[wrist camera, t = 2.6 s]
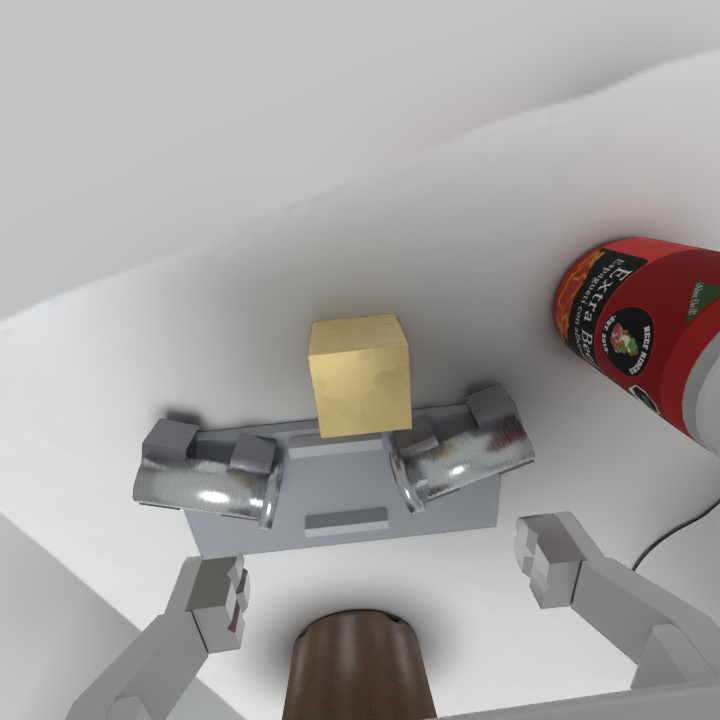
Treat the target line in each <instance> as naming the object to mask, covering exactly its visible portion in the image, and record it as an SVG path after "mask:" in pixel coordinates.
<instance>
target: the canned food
mask: <svg viewBox="0 0 720 720" xmlns="http://www.w3.org/2000/svg"><path fill="white" fill-rule="evenodd" d="M554 320H555V324H556V327H557V330H558V332H559V334H560V336H561V338H562V340H563V341H564V343H565V344H566V345H567V346H568V347H569V348H570V349H571V350H572V351H573V352H575V353H576V354H577V355H579V356H580V357H581V358H583V359H584V360H585V361H587V362H588V363H589V364H591V365H592V366H593V367H595V368H596V369H597V370H599V371H600V372H601V373H603V374H604V375H605V376H607V377H608V378H609V379H611V380H612V381H613V382H615V383H616V384H618V385H619V386H620V387H622V388H623V389H624V390H626V391H627V392H628V393H630V394H631V395H632V396H634V397H635V398H636V399H638V400H639V401H640V402H642V403H643V404H644V405H646V406H647V407H648V408H650V409H651V410H652V411H654V412H655V413H656V414H658V415H659V416H660V417H662V418H663V419H665V420H666V421H667V422H669V423H670V424H671V425H673V426H674V427H675V428H677V429H678V430H680V431H681V432H683V433H684V434H685V435H687V436H688V437H690V438H691V439H692V440H694V441H695V442H697V443H698V444H699V445H701V446H702V447H704V448H705V449H707V450H709V451H711V452H713V453H715V454H716V455H718V456H719V457H720V252H718V251H713V250H707V249H702V248H697V247H692V246H686V245H681V244H676V243H671V242H666V241H660V240H655V239H650V238H630V239H625V240H620V241H615V242H610V243H608V244H605V245H602V246H600V247H598V248H596V249H594V250H592V251H591V252H589V253H587V254H586V255H585V256H583V257H582V258H581V259H580V260H579V261H577V262H576V263H575V264H574V266H573V267H572V268H571V269H570V270H569V271H568V272H567V274H566V275H565V277H564V279H563V280H562V282H561V283H560V286H559V288H558V291H557V293H556V296H555V301H554Z"/></svg>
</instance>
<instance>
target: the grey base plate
mask: <svg viewBox="0 0 720 720" xmlns="http://www.w3.org/2000/svg"><path fill="white" fill-rule="evenodd" d="M426 413H427V415H428V417H429V420H430V422H431V424H432V426H433V428H434V430H435V433H436V435H437V437H438V439H439V441H440V440H443V439H445V438H448V437H450V436H453V435H455V434H458V433H460V432H463V431H465V430H467V429H470V428H472V427H475V425H474V422H473V420H472V417H471V415H470V412H469V410H468V407H467V405H466V404H462V405H452V406H443V407H433V408H424V409H415V410H411V418H412V419H414V418H416V417H418V416H421V415H423V414H426ZM240 433H244V434H250V435H255V436H261V437H267V438H272V439H277V442H276V446H275V451H274V455H273V460H272V462H277V463H283V464H285V465H284V472H283V477H282V483H281V488H280V493H279V498H278V502H277V507H276V512H275V516H274V520H273V524H272V528H271V530H266V529H259V528H258V524H259V521H253V520H246V519H239V518H232V517H225V516H222V514H217V513H211V512H204V511H197V510H190V509H183V510H184V512H185V515H186V518H187V520H188V523H189V525H190V528H191V531H192V533H193V536H194V539H195V541H196V544H197V547H198V549H199V552H200V554H201V556H204V555H214V554H224V553H235V552H242V554H243V555H248V554H257V553H266V552H275V551H284V550H293V549H302V548H311V547H320V546H328V545H337V544H346V543H355V542H364V541H373V540H382V539H391V538H400V537H409V536H418V535H427V534H436V533H445V532H454V531H463V530H472V529H481V528H490V527H496V522H497V511H498V500H499V489H500V478H501V474H500V475H498V473H495V474H493V475H490V476H488V477H485V478H482V479H480V480H477V481H475V482H472V483H469V484H467V485H464V486H462V487H460V490H459V491H456V492H454V493H451V494H448V495H446V496H443V497H441V498H438V499H435V500H433V501H430V502H427V503H426V501H425V504H426V510H424V511H421V512H418V513H416V514H412V513H411V512H410V511H409V510H408V508H407V506H406V504H405V502H404V500H403V498H402V496H401V494H400V492H399V489H398V487H397V484H396V482H395V479H394V476H393V473H392V470H391V466H390V462H389V452H392V451H394V450H397V449H398V446H397V442H396V437H395V433H394V431H384V432H375V433H366V434H357V435H347V436H338V437H329V438H321V434H320V428H319V422H318V420H310V421H301V422H291V423H282V424H273V425H263V426H254V427H244V428H235V429H225V430H216V431H206V432H198V440H197V448H196V457H197V458H203V459H209V460H215V461H221V462H227V463H230V462H231V457H232V454H233V451H234V449H235V446H236V443H237V440H238V438H239V435H240Z"/></svg>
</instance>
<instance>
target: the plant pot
mask: <svg viewBox="0 0 720 720" xmlns="http://www.w3.org/2000/svg"><path fill="white" fill-rule="evenodd" d="M431 718H437V715H436V711H435V707H434V703H433V699H432V695H431V692H430V688H429V684H428V680H427V676H426V672H425V668H424V664H423V660H422V656H421V651H420V647H419V643H418V640H417V637H416V635H415V633H414V632H413V630H412V629H411V628H410V627H409V626H408V625H407V624H406V623H405V622H403V621H398V622H395V621H393V620H391V619H390V618H388V617H387V616H386V615H385V614H384V613H381V612H376V611H350V612H343V613H338V614H334V615H331V616H328V617H325V618H322V619H320V620H318V621H316V622H314V623H313V624H311V625H310V626H309V628H308V630H307V631H306V633H305V634H304V636H300V637H298V639H297V641H296V643H295V646H294V649H293V656H292V663H291V670H290V675H289V681H288V687H287V693H286V699H285V705H284V710H283V716H282V720H424V719H431Z"/></svg>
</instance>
